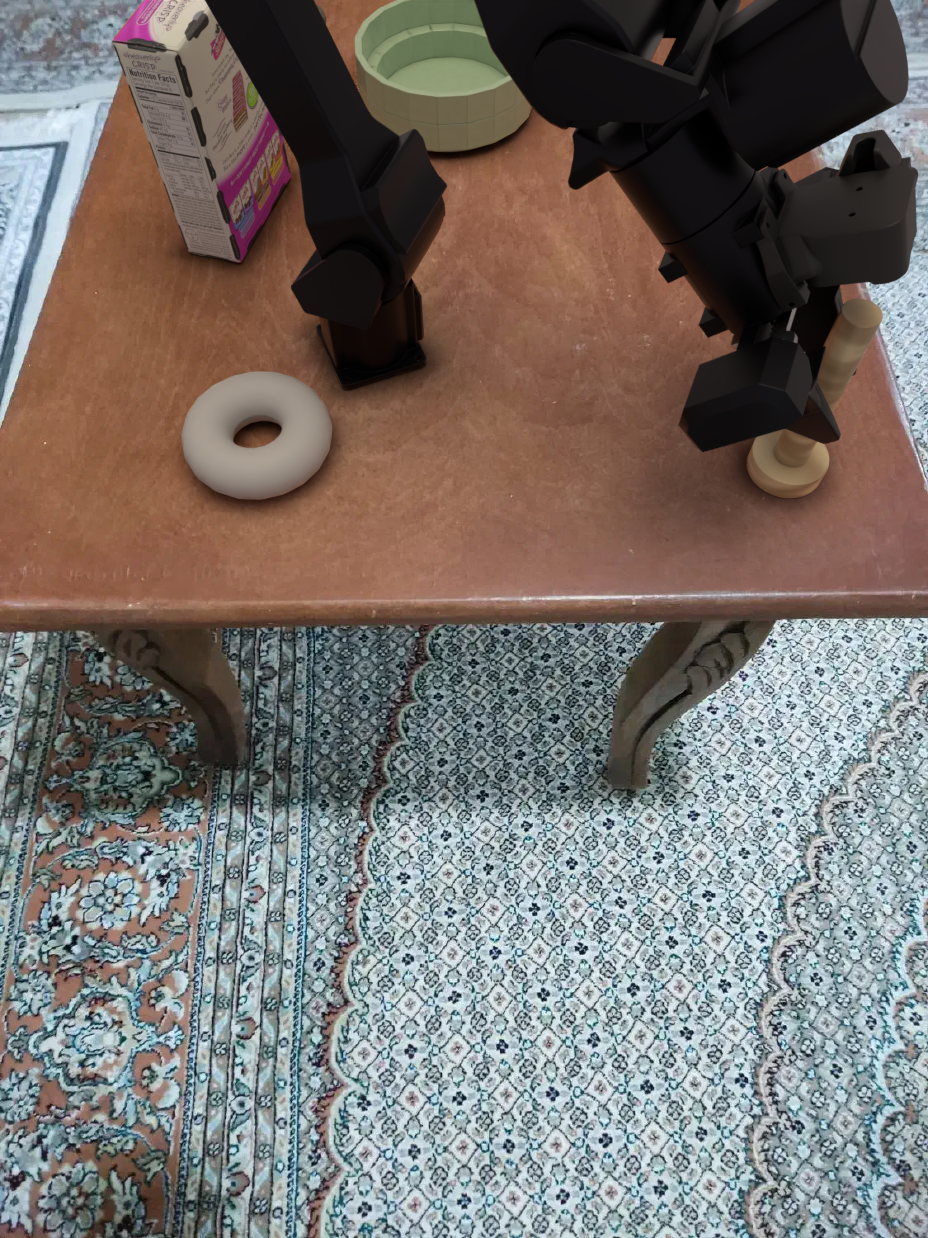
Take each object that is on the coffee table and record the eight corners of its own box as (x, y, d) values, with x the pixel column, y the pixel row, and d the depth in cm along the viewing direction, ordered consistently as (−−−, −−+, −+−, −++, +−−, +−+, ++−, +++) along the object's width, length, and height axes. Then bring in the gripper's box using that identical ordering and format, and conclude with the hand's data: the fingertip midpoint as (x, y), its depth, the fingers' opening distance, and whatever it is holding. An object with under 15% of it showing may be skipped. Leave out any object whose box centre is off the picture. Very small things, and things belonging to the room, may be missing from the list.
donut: (169, 498, 59) (313, 520, 58) (151, 465, 56) (303, 488, 55) (218, 386, 63) (352, 405, 62) (204, 350, 60) (345, 369, 59)
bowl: (396, 178, 74) (391, 113, 69) (339, 78, 80) (330, 13, 76) (561, 133, 76) (567, 69, 72) (492, 40, 83) (493, -24, 78)
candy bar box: (238, 167, 75) (181, -55, 60) (293, 177, 74) (249, -45, 59) (182, 255, 70) (106, 35, 55) (241, 266, 69) (179, 47, 54)
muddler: (771, 508, 58) (849, 357, 46) (732, 452, 60) (797, 294, 48) (836, 484, 59) (929, 330, 47) (795, 430, 61) (874, 269, 49)
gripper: (819, 253, 35) (966, 497, 43) (891, 10, 44) (1004, 252, 51) (605, 346, 44) (760, 537, 52) (698, 128, 52) (821, 321, 60)
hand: (840, 407), depth 53 cm, fingers open, 5 cm apart
